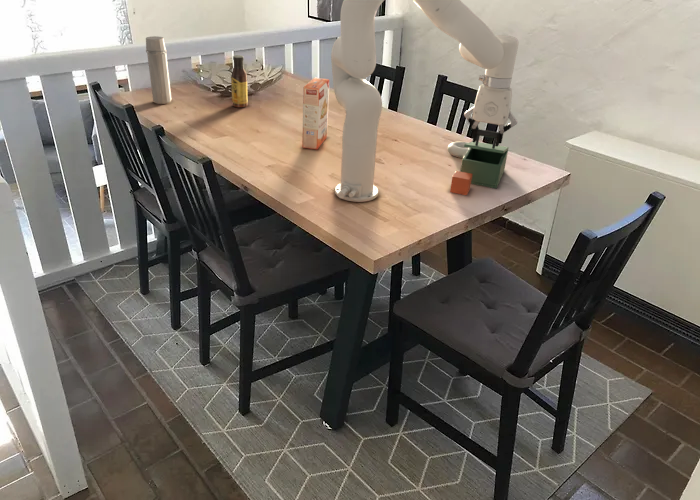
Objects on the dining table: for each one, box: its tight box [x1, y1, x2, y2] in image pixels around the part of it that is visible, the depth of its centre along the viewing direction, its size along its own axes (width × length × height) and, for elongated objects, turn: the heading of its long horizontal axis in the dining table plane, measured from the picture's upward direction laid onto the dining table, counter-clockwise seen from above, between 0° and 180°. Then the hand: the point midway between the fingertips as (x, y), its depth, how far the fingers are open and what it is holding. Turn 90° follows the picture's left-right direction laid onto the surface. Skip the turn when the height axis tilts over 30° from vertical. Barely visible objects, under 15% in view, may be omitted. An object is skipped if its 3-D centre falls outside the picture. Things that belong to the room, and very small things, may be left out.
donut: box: [447, 141, 469, 159], centre depth 196 cm, size 10×4×10 cm
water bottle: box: [145, 35, 172, 105], centre depth 226 cm, size 9×8×25 cm
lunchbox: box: [460, 148, 509, 189], centre depth 179 cm, size 16×12×7 cm
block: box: [449, 170, 472, 196], centre depth 169 cm, size 5×5×5 cm
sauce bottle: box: [230, 54, 249, 108], centre depth 229 cm, size 7×6×20 cm
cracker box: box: [301, 77, 330, 150], centre depth 195 cm, size 14×6×21 cm, turn 168°
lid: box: [464, 128, 510, 153], centre depth 175 cm, size 16×12×6 cm
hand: (485, 142), depth 170 cm, fingers closed on lid, 6 cm apart
